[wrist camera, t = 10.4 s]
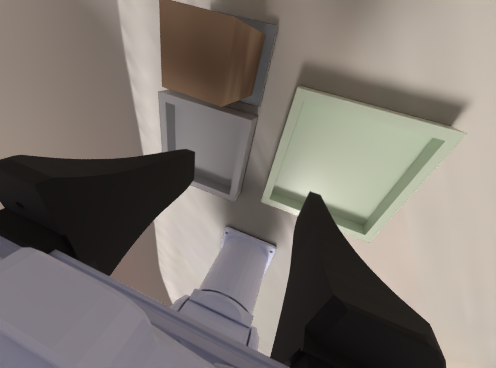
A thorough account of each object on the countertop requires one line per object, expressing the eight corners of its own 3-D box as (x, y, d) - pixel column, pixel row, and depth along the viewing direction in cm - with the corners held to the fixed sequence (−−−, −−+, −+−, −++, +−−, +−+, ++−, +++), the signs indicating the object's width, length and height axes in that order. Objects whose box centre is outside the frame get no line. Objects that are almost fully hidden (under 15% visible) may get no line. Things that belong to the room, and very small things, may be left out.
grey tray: (240, 193, 25) (234, 202, 23) (173, 168, 26) (163, 174, 25) (258, 116, 19) (252, 120, 17) (171, 89, 20) (158, 91, 19)
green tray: (365, 229, 21) (368, 243, 20) (265, 192, 23) (260, 202, 22) (451, 126, 15) (467, 133, 13) (299, 85, 16) (297, 87, 15)
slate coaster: (260, 105, 18) (258, 106, 18) (204, 89, 19) (201, 89, 19) (278, 26, 15) (277, 25, 14) (210, 11, 16) (206, 9, 15)
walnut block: (252, 95, 18) (221, 106, 12) (208, 81, 18) (162, 86, 13) (265, 34, 15) (234, 16, 10) (214, 20, 16) (159, -4, 10)
